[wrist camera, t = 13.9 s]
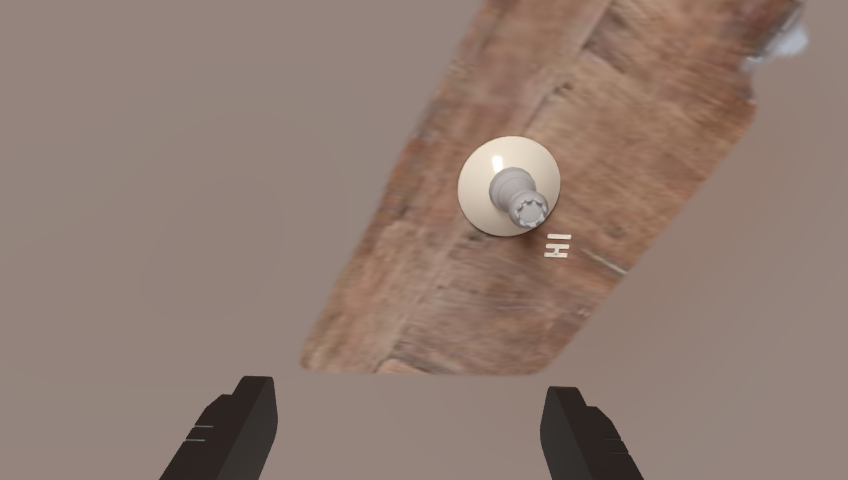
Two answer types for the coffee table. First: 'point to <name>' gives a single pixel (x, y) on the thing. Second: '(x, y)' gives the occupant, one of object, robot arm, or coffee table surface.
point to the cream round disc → (492, 161)
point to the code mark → (557, 246)
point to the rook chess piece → (518, 197)
